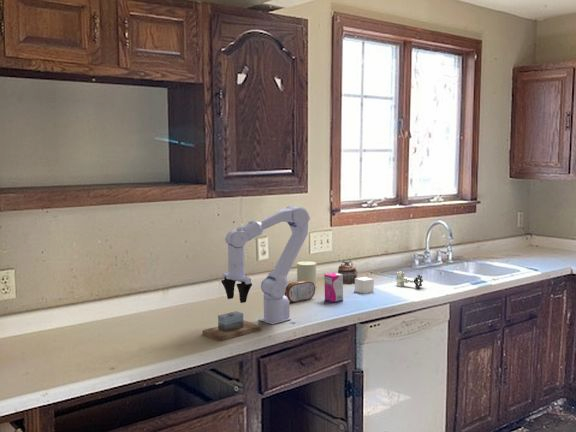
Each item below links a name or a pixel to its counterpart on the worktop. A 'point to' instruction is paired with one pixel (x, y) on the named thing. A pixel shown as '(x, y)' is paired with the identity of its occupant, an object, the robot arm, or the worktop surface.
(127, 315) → the worktop surface
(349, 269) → the cupcake
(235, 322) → the block
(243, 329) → the stand
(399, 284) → the valve
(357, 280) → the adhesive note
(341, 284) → the supplement box
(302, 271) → the can
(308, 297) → the tin
